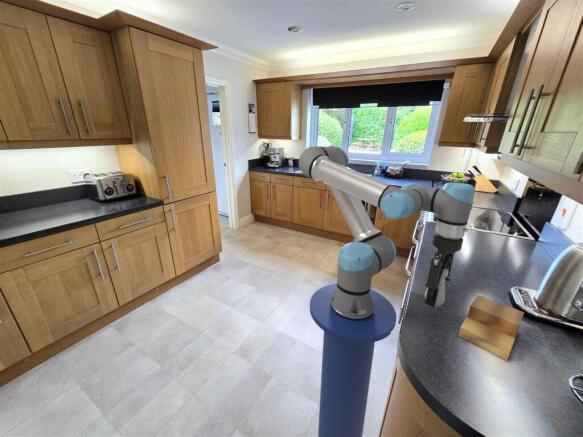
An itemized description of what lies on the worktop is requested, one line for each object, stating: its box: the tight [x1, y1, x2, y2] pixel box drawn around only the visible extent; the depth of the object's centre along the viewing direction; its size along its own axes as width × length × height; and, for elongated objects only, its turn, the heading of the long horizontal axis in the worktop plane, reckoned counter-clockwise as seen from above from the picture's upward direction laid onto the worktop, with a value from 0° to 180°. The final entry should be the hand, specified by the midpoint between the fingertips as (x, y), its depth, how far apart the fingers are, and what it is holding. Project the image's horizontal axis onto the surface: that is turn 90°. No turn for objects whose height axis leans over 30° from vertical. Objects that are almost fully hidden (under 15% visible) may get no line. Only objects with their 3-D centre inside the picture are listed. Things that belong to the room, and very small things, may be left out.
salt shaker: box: [424, 268, 448, 308], centre depth 78 cm, size 6×6×13 cm
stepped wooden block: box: [457, 294, 525, 361], centre depth 76 cm, size 12×16×8 cm
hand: (433, 300), depth 79 cm, fingers closed on salt shaker, 6 cm apart
